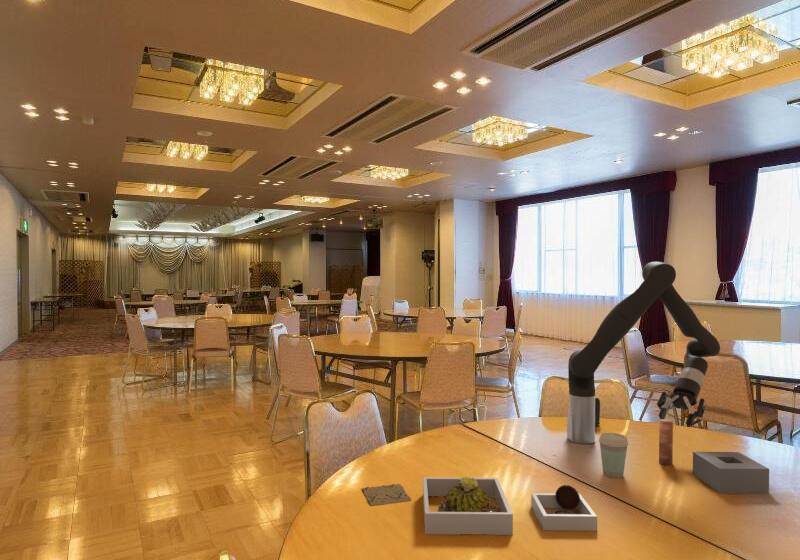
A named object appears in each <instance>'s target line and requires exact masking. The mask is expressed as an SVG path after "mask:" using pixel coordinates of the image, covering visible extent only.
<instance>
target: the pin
mask: <svg viewBox="0 0 800 560" xmlns="http://www.w3.org/2000/svg"><path fill="white" fill-rule="evenodd" d="M658 426H659V427H658V428H659V429H658V431H659V433H658V464H660V465H662V466H672V465H673V455H674V454H673V453H674V451H673V450H674V449H673V447H674V421H673V420H671V419H660V418H659V421H658Z"/></svg>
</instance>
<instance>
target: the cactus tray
mask: <svg viewBox="0 0 800 560" xmlns="http://www.w3.org/2000/svg"><path fill="white" fill-rule="evenodd" d="M462 478H463V477H435V476H434V477H427V476H425V477H422V500H423V501H422V503H423V518H424V519H423V520H424V535H460V534H478V535H477V536H481V535H482V534H487V535H486V536H513V535H514V533H513V532H514V530H513V529H514V528H513V527H514V521H513V520H514V519H513V518H514V516H513V511H512V509H511V507H510V504H509V501H508V499H507V497H506V495H505V492H504V489H503V488H502V487H503V486H502V485H501V482H500V481H499V478H498V477H473V478H474V479H477V480H476V481H477V483H478V487H480V489H482V488H483V489H482V491H485V493H486V495H487V494H488V495H487V498H494V500H495V503H496V502H497V503H496V506H497V507H498V508H500V511H501V512H438V511H430V507H429V506H430V505H429V496H431V497H434V496H438V497H442V496H446V494H448V491H449V490H450V489H451V488H453V485H454V486H455V485H457V484H460V479H462ZM438 497H437V498H438ZM442 498H443V497H442ZM479 534H481V535H479ZM489 534H490V535H489ZM482 536H483V535H482Z"/></svg>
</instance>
